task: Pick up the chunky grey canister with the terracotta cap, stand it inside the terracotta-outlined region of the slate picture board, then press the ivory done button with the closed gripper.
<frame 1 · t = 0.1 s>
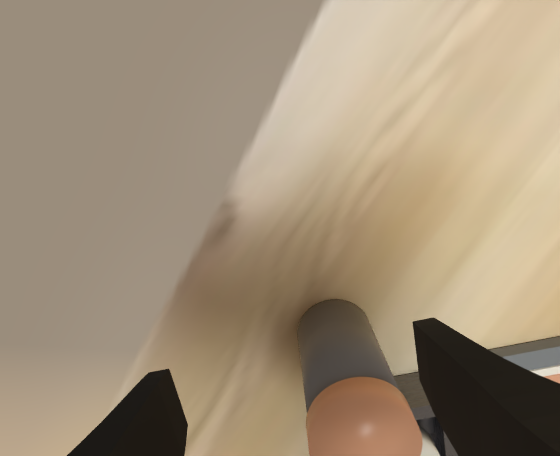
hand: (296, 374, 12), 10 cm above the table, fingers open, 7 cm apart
button housing: (385, 426, 25), on the table
grey canister: (333, 332, 23), on the table
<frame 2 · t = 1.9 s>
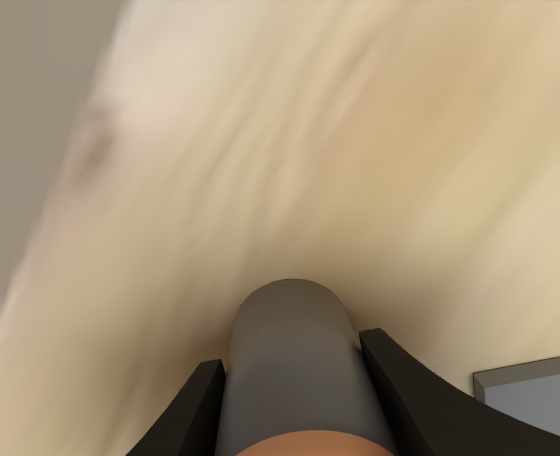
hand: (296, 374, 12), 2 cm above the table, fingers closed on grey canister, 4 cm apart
grey canister: (291, 332, 14), on the table, touching gripper
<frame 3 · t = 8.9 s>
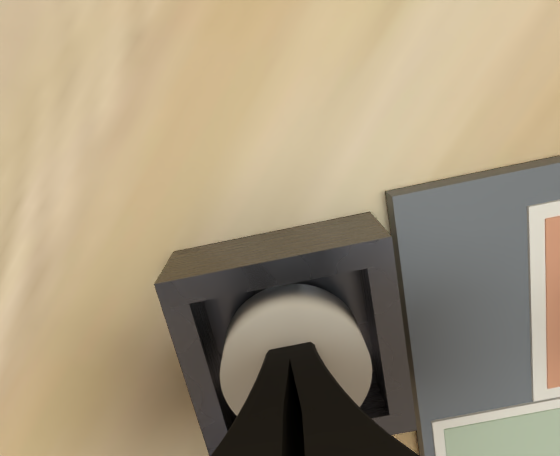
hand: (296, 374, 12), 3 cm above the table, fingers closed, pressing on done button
button housing: (290, 319, 15), on the table
done button: (294, 360, 13), point 2 cm above the table, slide at 0.3 cm, touching gripper
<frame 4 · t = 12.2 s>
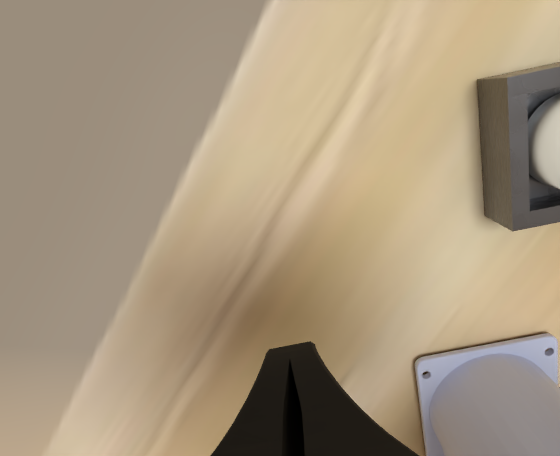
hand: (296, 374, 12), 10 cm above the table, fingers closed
button housing: (550, 136, 21), on the table
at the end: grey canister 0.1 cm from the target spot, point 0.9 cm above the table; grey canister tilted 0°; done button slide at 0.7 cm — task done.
